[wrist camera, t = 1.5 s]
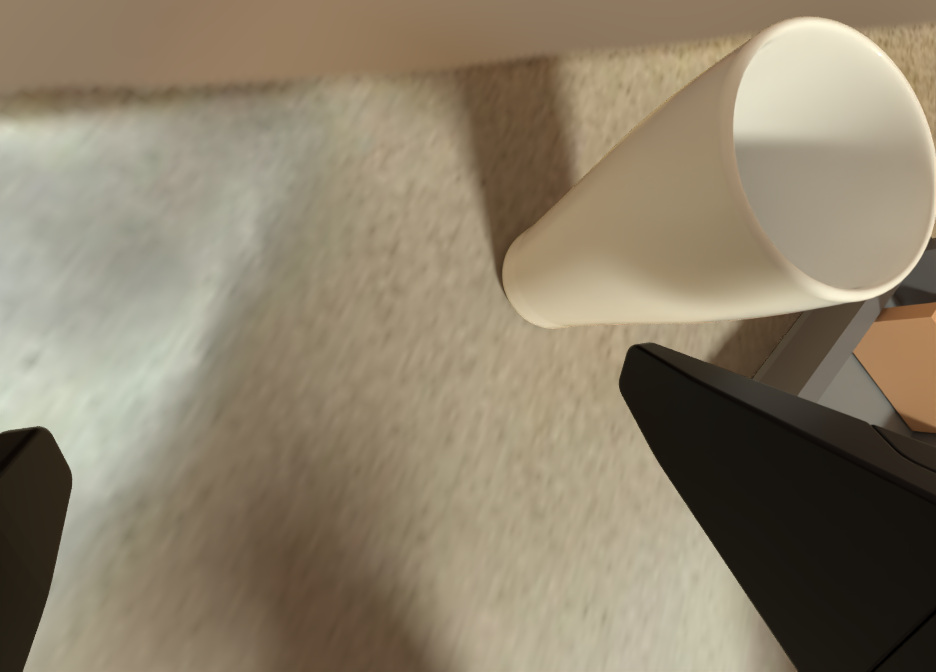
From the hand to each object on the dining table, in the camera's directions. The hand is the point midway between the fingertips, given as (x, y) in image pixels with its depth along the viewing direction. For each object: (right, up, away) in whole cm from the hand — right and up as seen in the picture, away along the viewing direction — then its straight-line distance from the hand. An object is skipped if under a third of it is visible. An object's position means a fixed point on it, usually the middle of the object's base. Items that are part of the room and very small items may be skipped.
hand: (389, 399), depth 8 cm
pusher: (+27, -1, +23) cm, 36 cm away
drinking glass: (+5, +4, +18) cm, 19 cm away
